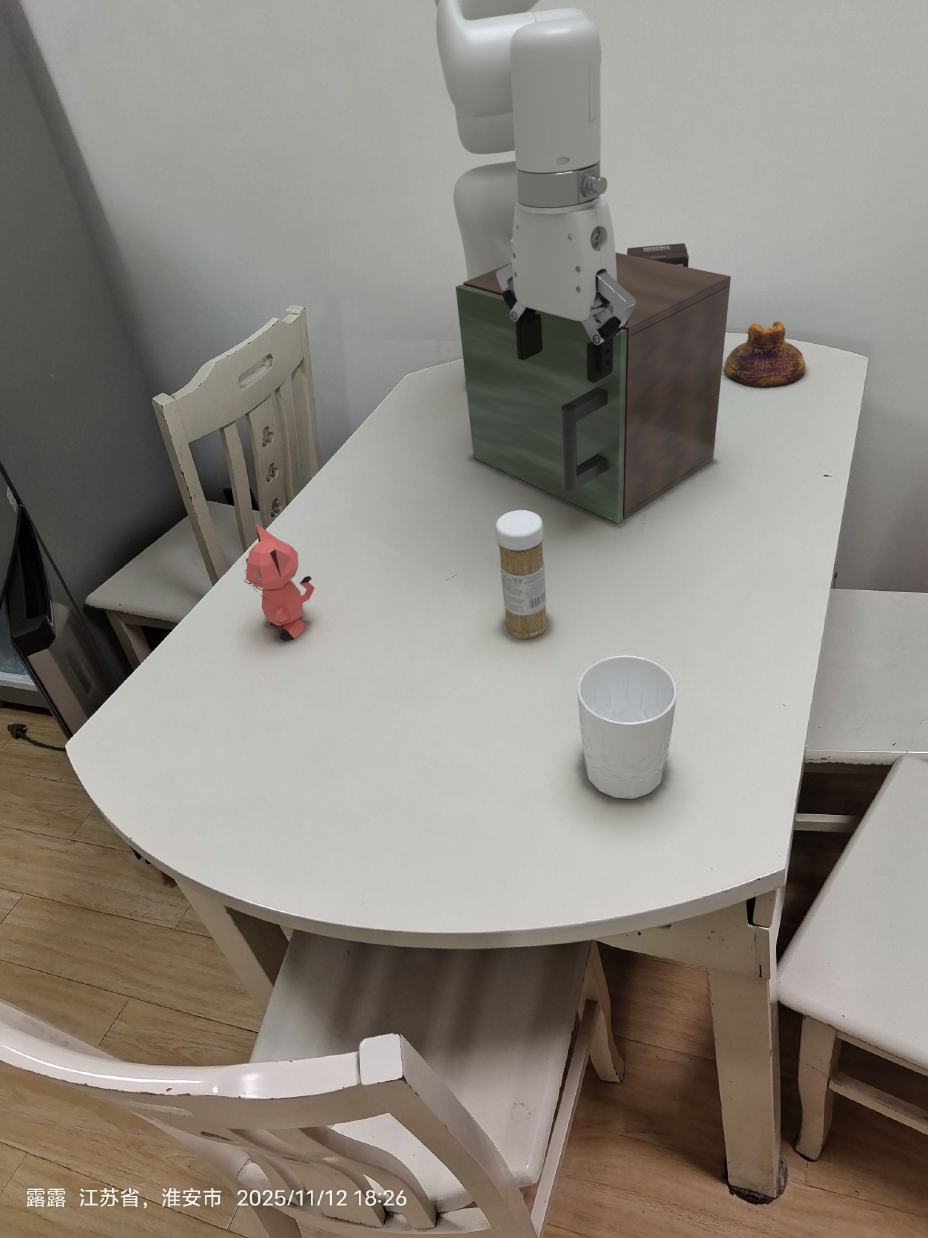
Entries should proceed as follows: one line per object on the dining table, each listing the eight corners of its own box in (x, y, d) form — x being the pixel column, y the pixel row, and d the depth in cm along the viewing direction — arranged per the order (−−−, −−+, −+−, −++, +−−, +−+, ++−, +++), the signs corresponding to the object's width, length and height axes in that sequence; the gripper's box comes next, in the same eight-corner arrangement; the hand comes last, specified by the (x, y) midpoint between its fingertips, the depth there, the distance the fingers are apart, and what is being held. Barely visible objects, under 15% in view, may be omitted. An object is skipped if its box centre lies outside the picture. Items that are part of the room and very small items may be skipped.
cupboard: (624, 520, 104) (628, 327, 89) (480, 455, 120) (462, 282, 105) (713, 461, 113) (731, 275, 97) (567, 407, 129) (563, 241, 113)
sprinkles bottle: (534, 607, 93) (528, 503, 85) (556, 630, 90) (551, 524, 81) (497, 622, 92) (487, 517, 83) (518, 646, 89) (509, 540, 80)
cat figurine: (252, 620, 97) (222, 532, 89) (307, 596, 99) (283, 509, 91) (274, 654, 92) (244, 564, 84) (332, 628, 94) (308, 539, 86)
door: (582, 547, 101) (579, 353, 86) (439, 476, 117) (415, 302, 101) (623, 520, 104) (627, 329, 89) (478, 455, 120) (461, 284, 105)
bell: (717, 384, 129) (722, 337, 125) (732, 352, 138) (736, 307, 133) (799, 391, 125) (806, 342, 120) (808, 357, 133) (816, 311, 129)
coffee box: (680, 343, 142) (686, 241, 132) (684, 359, 137) (690, 255, 127) (624, 346, 144) (626, 246, 133) (626, 362, 139) (628, 259, 128)
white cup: (571, 741, 78) (569, 661, 72) (657, 730, 78) (662, 649, 72) (588, 811, 72) (587, 730, 66) (681, 799, 72) (689, 716, 66)
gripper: (662, 185, 74) (654, 373, 85) (520, 167, 84) (529, 336, 95) (604, 207, 70) (604, 401, 81) (464, 185, 81) (480, 359, 92)
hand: (564, 366), depth 88 cm, fingers open, 9 cm apart
